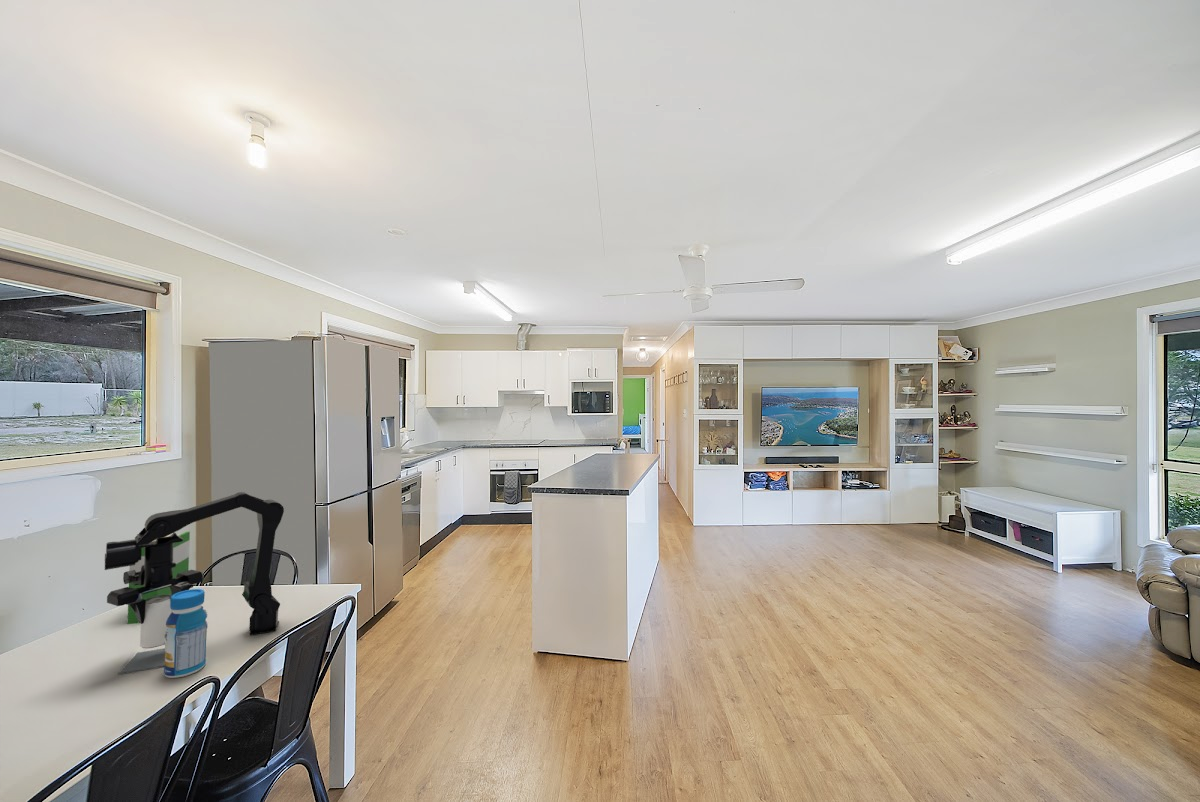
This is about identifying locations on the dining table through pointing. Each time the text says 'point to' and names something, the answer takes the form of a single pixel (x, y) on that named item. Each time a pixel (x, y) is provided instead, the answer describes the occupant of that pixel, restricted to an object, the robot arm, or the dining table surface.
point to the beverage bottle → (185, 634)
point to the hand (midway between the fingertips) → (157, 618)
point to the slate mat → (145, 661)
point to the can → (155, 621)
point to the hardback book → (181, 566)
